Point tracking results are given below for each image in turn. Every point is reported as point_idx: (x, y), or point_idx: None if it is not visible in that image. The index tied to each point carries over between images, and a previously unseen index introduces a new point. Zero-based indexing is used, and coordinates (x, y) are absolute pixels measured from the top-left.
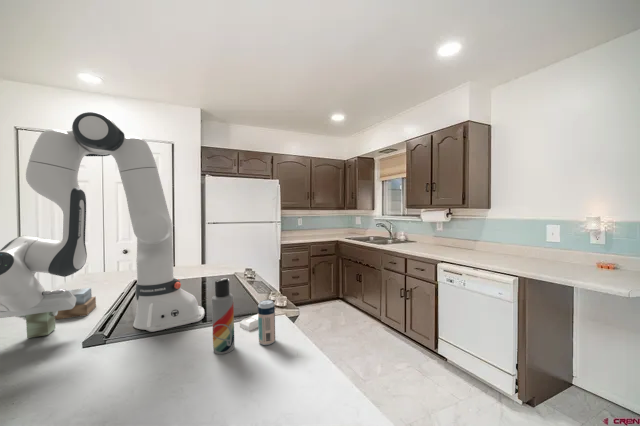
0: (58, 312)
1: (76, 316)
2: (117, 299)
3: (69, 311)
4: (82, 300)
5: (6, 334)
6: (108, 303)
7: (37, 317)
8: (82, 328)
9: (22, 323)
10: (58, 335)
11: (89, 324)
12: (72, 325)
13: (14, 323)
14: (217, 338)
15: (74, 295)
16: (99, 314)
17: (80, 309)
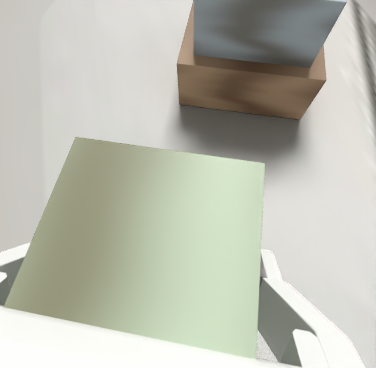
0: (201, 84)
1: (261, 114)
2: (353, 4)
3: (242, 91)
4: (313, 46)
5: (47, 179)
6: (335, 29)
7: None
8: (349, 306)
9: (87, 87)
10: (258, 350)
11: (361, 258)
12: (280, 222)
13: (64, 74)
14: None
15: (290, 3)
16: (352, 136)
17: (288, 94)
